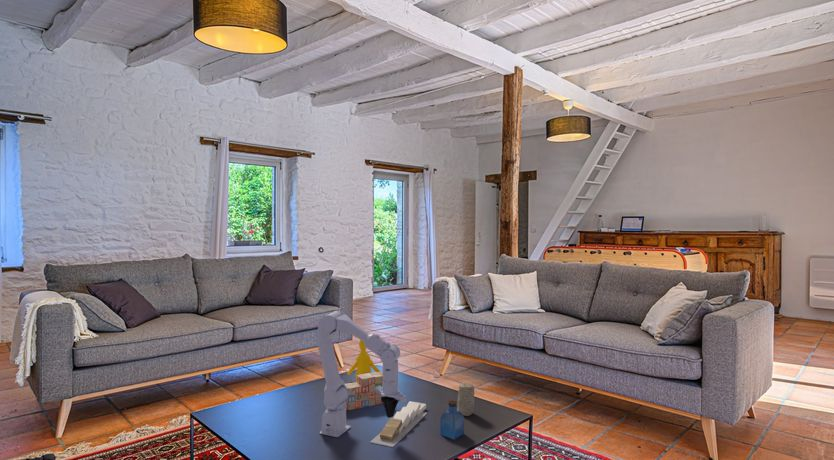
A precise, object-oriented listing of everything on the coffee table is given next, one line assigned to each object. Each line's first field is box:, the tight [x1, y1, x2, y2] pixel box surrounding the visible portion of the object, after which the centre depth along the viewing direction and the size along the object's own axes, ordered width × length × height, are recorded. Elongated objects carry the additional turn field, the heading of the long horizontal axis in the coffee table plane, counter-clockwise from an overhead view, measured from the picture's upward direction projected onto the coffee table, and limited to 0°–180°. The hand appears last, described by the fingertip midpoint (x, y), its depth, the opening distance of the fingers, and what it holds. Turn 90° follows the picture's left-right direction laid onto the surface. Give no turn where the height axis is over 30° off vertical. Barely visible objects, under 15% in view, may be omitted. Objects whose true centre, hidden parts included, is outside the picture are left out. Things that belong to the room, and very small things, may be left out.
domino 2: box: [399, 406, 415, 428], centre depth 186 cm, size 2×5×9 cm
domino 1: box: [392, 411, 409, 434], centre depth 180 cm, size 2×5×9 cm
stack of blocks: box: [344, 370, 383, 411], centre depth 204 cm, size 21×6×12 cm, turn 118°
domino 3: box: [405, 400, 421, 422], centre depth 191 cm, size 2×5×9 cm
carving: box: [456, 382, 475, 417], centre depth 195 cm, size 6×8×12 cm
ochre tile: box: [379, 417, 402, 441], centre depth 175 cm, size 2×5×9 cm
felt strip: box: [369, 411, 428, 448], centre depth 182 cm, size 32×9×1 cm, turn 157°
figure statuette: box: [346, 339, 381, 382], centre depth 233 cm, size 18×8×22 cm, turn 85°
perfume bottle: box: [439, 400, 465, 440], centre depth 176 cm, size 6×6×12 cm
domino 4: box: [416, 402, 427, 416], centre depth 197 cm, size 2×5×9 cm
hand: (390, 416), depth 174 cm, fingers closed
